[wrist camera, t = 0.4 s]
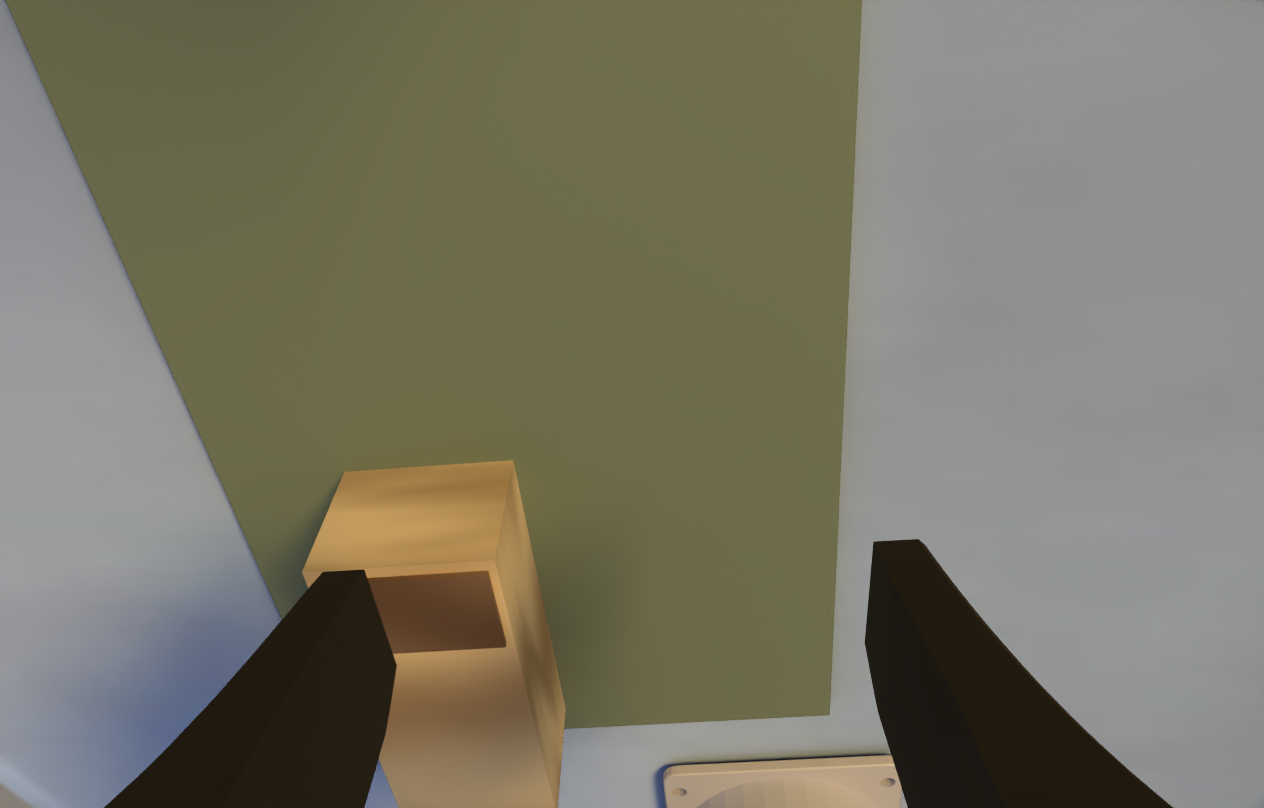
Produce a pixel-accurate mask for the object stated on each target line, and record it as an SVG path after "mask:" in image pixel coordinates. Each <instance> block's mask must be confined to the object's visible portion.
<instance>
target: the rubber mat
mask: <svg viewBox="0 0 1264 808" xmlns="http://www.w3.org/2000/svg"><path fill="white" fill-rule="evenodd" d="M6 3H7V5H8V7H9V9H10V12H11V14H12V16H13V18H14V21H15V23H16V25H17V27H18V29H19V32H20V34H21V36H22V38H23V41H24V43H25V45H26V47H27V50H28V52H29V54H30V56H31V59H32V61H33V63H34V65H35V68H36V70H37V72H38V74H39V76H40V79H41V81H42V83H43V85H44V88H45V90H46V92H47V94H48V97H49V99H50V101H51V103H52V106H53V108H54V110H55V112H56V115H57V117H58V119H59V121H60V124H61V126H62V128H63V130H64V132H65V135H66V137H67V139H68V141H69V144H70V146H71V148H72V150H73V153H74V155H75V157H76V159H77V162H78V164H79V166H80V168H81V171H82V173H83V175H84V177H85V179H86V182H87V184H88V186H89V188H90V191H91V193H92V195H93V197H94V200H95V202H96V204H97V206H98V209H99V211H100V213H101V215H102V218H103V220H104V222H105V224H106V226H107V229H108V231H109V233H110V235H111V238H112V240H113V242H114V244H115V247H116V249H117V251H118V253H119V256H120V258H121V260H122V262H123V265H124V267H125V269H126V271H127V274H128V276H129V278H130V280H131V282H132V285H133V287H134V289H135V291H136V294H137V296H138V298H139V300H140V303H141V305H142V307H143V309H144V312H145V314H146V316H147V318H148V321H149V323H150V325H151V327H152V329H153V332H154V334H155V336H156V338H157V341H158V343H159V345H160V347H161V350H162V352H163V354H164V356H165V359H166V361H167V363H168V365H169V368H170V370H171V372H172V374H173V377H174V379H175V381H176V383H177V385H178V388H179V390H180V392H181V394H182V397H183V399H184V401H185V403H186V406H187V408H188V410H189V412H190V415H191V417H192V419H193V421H194V424H195V426H196V428H197V430H198V432H199V435H200V437H201V439H202V441H203V444H204V446H205V448H206V450H207V453H208V455H209V457H210V459H211V462H212V464H213V466H214V468H215V471H216V473H217V475H218V477H219V479H220V482H221V484H222V486H223V488H224V491H225V493H226V495H227V497H228V500H229V502H230V504H231V506H232V509H233V511H234V513H235V515H236V518H237V520H238V522H239V524H240V527H241V529H242V531H243V533H244V535H245V538H246V540H247V542H248V544H249V547H250V549H251V551H252V553H253V556H254V558H255V560H256V562H257V565H258V567H259V569H260V571H261V574H262V576H263V578H264V580H265V582H266V585H267V587H268V589H269V591H270V594H271V596H272V598H273V600H274V603H275V605H276V607H277V609H278V612H279V614H280V616H281V618H282V619H283V618H284V617H285V616H286V614H287V613H288V612H289V611H290V610H291V608H292V607H293V606H294V605H295V604H296V602H297V601H298V600H299V599H300V598H301V596H302V595H303V594H304V593H305V592H306V591H307V589H308V586H307V583H306V581H305V579H304V576H303V574H302V571H303V569H304V566H305V564H306V562H307V559H308V557H309V554H310V552H311V550H312V547H313V545H314V543H315V540H316V538H317V535H318V533H319V531H320V528H321V526H322V524H323V521H324V519H325V516H326V514H327V512H328V509H329V507H330V505H331V502H332V500H333V497H334V495H335V493H336V490H337V488H338V486H339V483H340V481H341V478H342V476H343V474H344V472H351V471H365V470H379V469H394V468H408V467H423V466H437V465H452V464H466V463H480V462H495V461H509V460H513V462H514V467H515V471H516V476H517V481H518V486H519V490H520V495H521V500H522V505H523V509H524V514H525V519H526V524H527V528H528V533H529V538H530V543H531V547H532V552H533V557H534V562H535V566H536V571H537V576H538V581H539V585H540V590H541V595H542V600H543V604H544V609H545V614H546V619H547V623H548V628H549V633H550V638H551V642H552V647H553V652H554V657H555V661H556V666H557V671H558V676H559V680H560V685H561V690H562V695H563V699H564V704H565V722H564V729H571V728H590V727H609V726H629V725H648V724H667V723H686V722H706V721H725V720H744V719H764V718H783V717H802V716H822V715H830V693H831V671H832V649H833V627H834V605H835V583H836V561H837V538H838V516H839V494H840V472H841V450H842V428H843V406H844V384H845V362H846V340H847V318H848V296H849V274H850V252H851V230H852V207H853V185H854V163H855V141H856V119H857V97H858V75H859V53H860V31H861V9H862V0H6Z"/></svg>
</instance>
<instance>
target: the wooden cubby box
mask: <svg viewBox="0 0 1264 808" xmlns="http://www.w3.org/2000/svg"><path fill="white" fill-rule="evenodd" d="M345 570H365V573H366V576H367V579H368V582H369V585H370V588H371V590H372V593H373V596H374V599H375V602H376V605H377V608H378V611H379V614H380V617H381V620H382V623H383V626H384V629H385V632H386V635H387V638H388V641H389V644H390V647H391V650H392V653H393V656H394V659H395V661H396V664H397V668H396V674H395V681H394V687H393V694H392V701H391V706H390V712H389V718H388V723H387V729H386V734H385V738H384V741H383V745H382V748H381V752H380V755H379V761H380V763H381V766H382V768H383V771H384V773H385V775H386V778H387V780H388V783H389V785H390V788H391V790H392V792H393V795H394V797H395V800H396V802H397V805H398V807H399V808H558V797H559V785H560V772H561V760H562V747H563V734H564V722H565V704H564V699H563V695H562V690H561V685H560V680H559V676H558V671H557V666H556V661H555V657H554V652H553V647H552V642H551V638H550V633H549V628H548V623H547V619H546V614H545V609H544V604H543V600H542V595H541V590H540V585H539V581H538V576H537V571H536V566H535V562H534V557H533V552H532V547H531V543H530V538H529V533H528V528H527V524H526V519H525V514H524V509H523V505H522V500H521V495H520V490H519V486H518V481H517V476H516V471H515V467H514V462H513V460H509V461H495V462H480V463H466V464H452V465H437V466H423V467H408V468H394V469H379V470H365V471H351V472H344V474H343V476H342V478H341V481H340V483H339V486H338V488H337V490H336V493H335V495H334V497H333V500H332V502H331V505H330V507H329V509H328V512H327V514H326V516H325V519H324V521H323V524H322V526H321V528H320V531H319V533H318V535H317V538H316V540H315V543H314V545H313V547H312V550H311V552H310V554H309V557H308V559H307V562H306V564H305V566H304V569H303V571H302V574H303V576H304V579H305V581H306V583H307V586H308V588H309V587H310V586H311V585H312V584H313V582H314V581H315V580H316V579H317V578H318V577H319V576H320V574H321V573H322V572H327V571H345Z"/></svg>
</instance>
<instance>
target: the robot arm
mask: <svg viewBox="0 0 1264 808" xmlns="http://www.w3.org/2000/svg"><path fill="white" fill-rule="evenodd" d="M865 646H866V652H867V657H868V662H869V668H870V673H871V679H872V684H873V689H874V694H875V699H876V704H877V709H878V713H879V716H880V720H881V723H882V726H883V729H884V733H885V736H886V739H887V742H888V746H889V749H890V752H891V755H878V756H858V757H837V758H817V759H797V760H776V761H756V762H736V763H715V764H695V765H676V766H671V767H669V768H667V769H666V770H665V771H664V774H663V785H664V793H665V801H666V808H899V804H900V796H901V788H902V790H903V793H904V797H905V800H906V803H907V806H908V808H1173V807H1172V806H1170V805H1169V804H1168V803H1167V802H1166V801H1164V800H1163V799H1162V798H1161V797H1160V796H1159V795H1157V794H1156V793H1155V792H1154V791H1153V790H1152V789H1150V788H1149V787H1148V786H1147V785H1146V784H1144V783H1143V782H1142V781H1141V780H1140V779H1139V778H1137V777H1136V776H1135V775H1134V774H1133V773H1132V772H1130V771H1129V770H1128V769H1127V768H1126V767H1125V766H1124V765H1123V764H1122V763H1120V762H1119V761H1118V760H1117V759H1116V758H1115V757H1114V756H1113V755H1112V754H1110V753H1109V752H1108V751H1107V750H1106V749H1105V748H1104V747H1103V746H1102V745H1101V744H1099V743H1098V742H1097V741H1096V740H1095V739H1094V738H1093V737H1092V736H1091V735H1090V734H1089V733H1088V732H1087V731H1086V730H1085V729H1084V728H1083V727H1082V726H1081V725H1080V724H1079V723H1078V722H1076V721H1075V720H1074V719H1073V718H1072V717H1071V716H1070V715H1069V714H1068V713H1067V712H1066V711H1065V710H1064V709H1063V708H1062V706H1061V705H1060V704H1059V703H1058V702H1057V701H1056V700H1055V699H1054V698H1053V697H1052V696H1051V695H1050V694H1049V693H1048V692H1047V691H1046V690H1045V689H1044V688H1043V687H1042V686H1041V685H1040V684H1039V683H1038V682H1037V681H1036V680H1035V678H1034V677H1033V676H1032V675H1031V674H1030V673H1029V672H1028V671H1027V670H1026V669H1025V668H1024V667H1023V665H1022V664H1021V663H1020V662H1019V661H1018V660H1017V659H1016V657H1015V656H1014V655H1013V654H1012V653H1011V652H1010V651H1009V650H1008V648H1007V647H1006V646H1005V645H1004V644H1003V643H1002V642H1001V640H1000V639H999V638H998V637H997V636H996V635H995V634H994V632H993V631H992V630H991V629H990V628H989V627H988V625H987V624H986V623H985V622H984V621H983V619H982V618H981V617H980V616H979V615H978V613H977V612H976V611H975V610H974V608H973V607H972V606H971V605H970V603H969V602H968V601H967V600H966V598H965V597H964V596H963V595H962V593H961V592H960V591H959V590H958V588H957V587H956V586H955V585H954V583H953V582H952V581H951V579H950V578H949V577H948V575H947V574H946V573H945V571H944V570H943V569H942V567H941V566H940V565H939V563H938V562H937V561H936V559H935V558H934V557H933V555H932V554H931V553H930V551H929V550H928V548H927V547H926V546H925V545H924V544H923V543H922V542H921V541H920V540H918V539H915V540H896V541H878V542H874V543H873V554H872V566H871V577H870V589H869V601H868V612H867V624H866V635H865ZM396 668H397V664H396V661H395V659H394V656H393V653H392V650H391V647H390V644H389V641H388V638H387V635H386V632H385V629H384V626H383V623H382V620H381V617H380V614H379V611H378V608H377V605H376V602H375V599H374V596H373V593H372V590H371V588H370V585H369V582H368V579H367V576H366V573H365V570H345V571H327V572H322V573H321V574H320V576H319V577H318V578H317V579H316V580H315V581H314V582H313V584H312V585H311V586H310V587H309V588H308V589H307V591H306V592H305V593H304V594H303V595H302V596H301V598H300V599H299V600H298V601H297V602H296V604H295V605H294V606H293V607H292V608H291V610H290V611H289V612H288V613H287V614H286V616H285V617H284V618H283V619H282V620H281V622H280V623H279V624H278V625H277V626H276V628H275V629H274V630H273V631H272V632H271V634H270V635H269V636H268V637H267V638H266V639H265V641H264V642H263V643H262V644H261V645H260V647H259V648H258V649H257V650H256V651H255V652H254V654H253V655H252V656H251V657H250V658H249V659H248V661H247V662H246V663H245V664H244V665H243V666H242V667H241V669H240V670H239V671H238V672H237V673H236V674H235V675H234V677H233V678H232V679H231V680H230V681H229V682H228V683H227V685H226V686H225V687H224V688H223V689H222V690H221V691H220V692H219V694H218V695H217V696H216V697H215V698H214V699H213V700H212V701H211V702H210V703H209V705H208V706H207V707H206V708H205V709H204V710H203V711H202V712H201V713H200V714H199V715H198V716H197V717H196V718H195V719H194V720H193V721H192V722H191V724H190V725H189V726H188V727H187V728H186V729H185V730H184V731H183V732H182V733H181V734H180V735H179V736H178V737H177V738H176V739H175V740H174V741H173V742H172V744H171V745H170V746H169V747H168V748H167V749H166V750H165V751H164V752H163V753H162V754H161V755H160V756H159V757H158V758H157V759H156V760H155V761H154V762H153V763H152V764H151V765H150V766H149V767H148V768H146V769H145V770H144V771H143V772H142V773H141V774H140V775H139V776H138V777H137V778H136V779H135V780H134V781H133V782H132V783H131V784H129V785H128V786H127V787H126V788H125V789H124V790H123V791H122V792H121V793H120V794H118V795H117V796H116V797H115V798H114V799H113V800H112V801H111V802H110V803H109V804H107V805H106V806H105V807H104V808H364V806H365V803H366V800H367V796H368V793H369V790H370V786H371V783H372V780H373V776H374V773H375V769H376V766H377V762H378V759H379V755H380V752H381V748H382V745H383V741H384V738H385V734H386V729H387V723H388V718H389V712H390V706H391V701H392V694H393V687H394V681H395V674H396Z"/></svg>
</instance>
